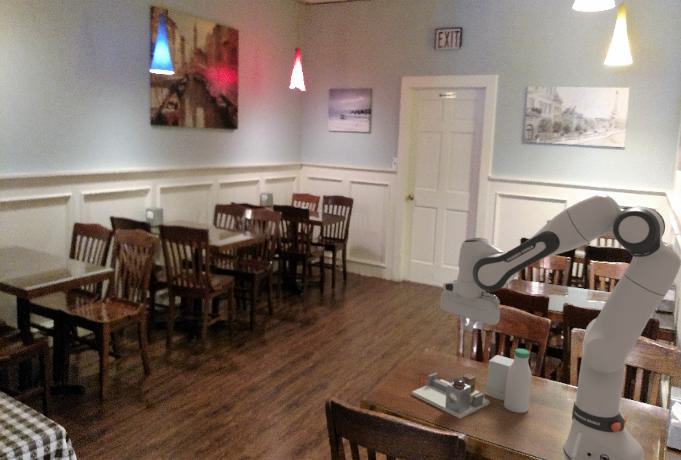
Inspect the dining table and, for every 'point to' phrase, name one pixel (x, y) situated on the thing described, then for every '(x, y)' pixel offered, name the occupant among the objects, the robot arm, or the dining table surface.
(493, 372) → the supplement box
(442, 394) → the rail bed
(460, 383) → the knob
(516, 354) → the milk bottle
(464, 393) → the cabinet
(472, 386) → the carriage
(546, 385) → the dining table surface
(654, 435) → the dining table surface
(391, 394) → the dining table surface
